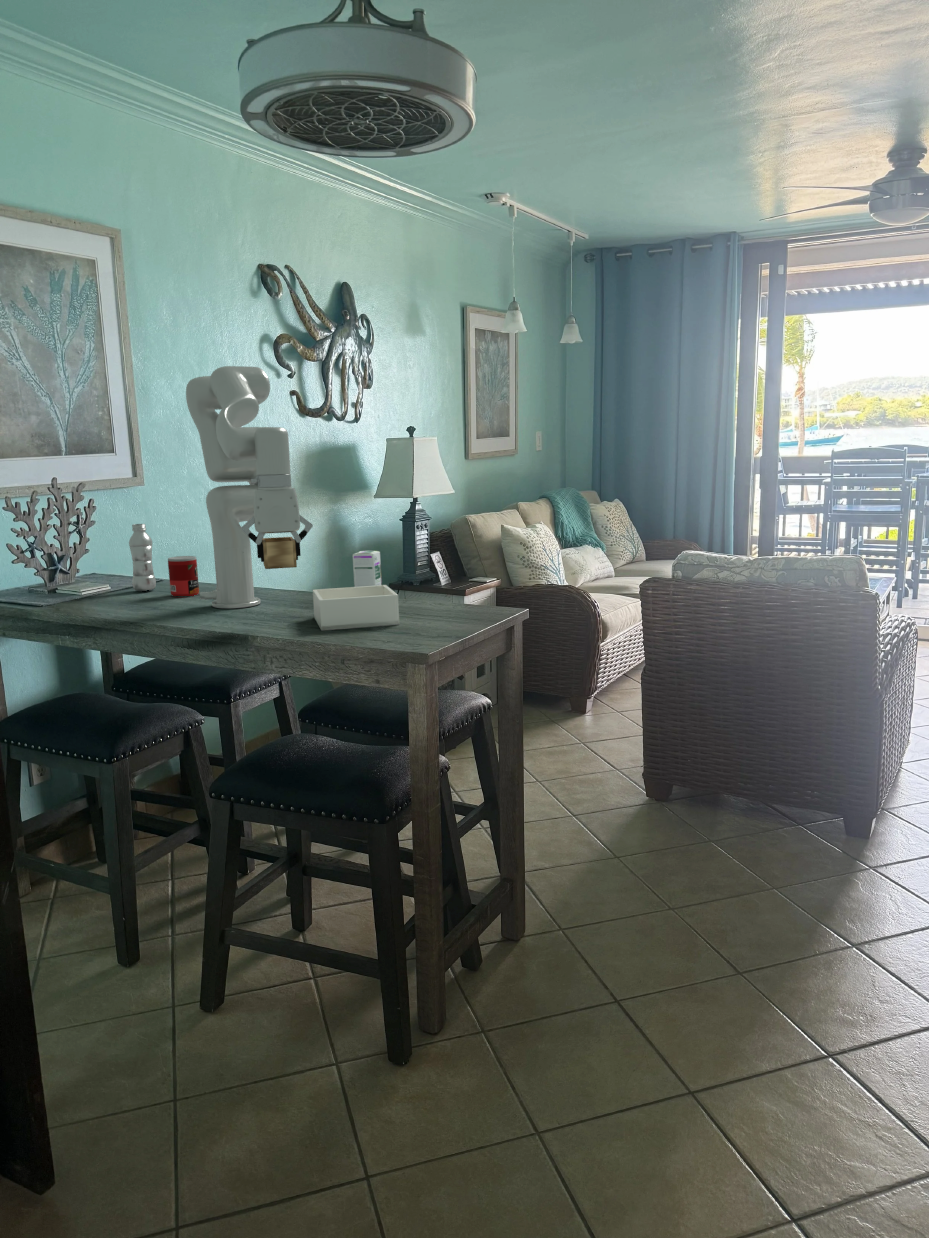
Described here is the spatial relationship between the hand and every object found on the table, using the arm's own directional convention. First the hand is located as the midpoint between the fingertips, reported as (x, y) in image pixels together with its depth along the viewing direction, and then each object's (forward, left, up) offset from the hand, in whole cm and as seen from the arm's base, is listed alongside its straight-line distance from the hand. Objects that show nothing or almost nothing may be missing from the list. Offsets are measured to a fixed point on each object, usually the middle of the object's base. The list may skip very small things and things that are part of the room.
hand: (279, 559), depth 205 cm
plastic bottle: (-36, +70, -16) cm, 80 cm away
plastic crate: (+17, -1, -16) cm, 23 cm away
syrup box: (+23, +16, -16) cm, 32 cm away
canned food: (-24, +57, -16) cm, 64 cm away
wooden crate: (0, 0, -1) cm, 1 cm away
